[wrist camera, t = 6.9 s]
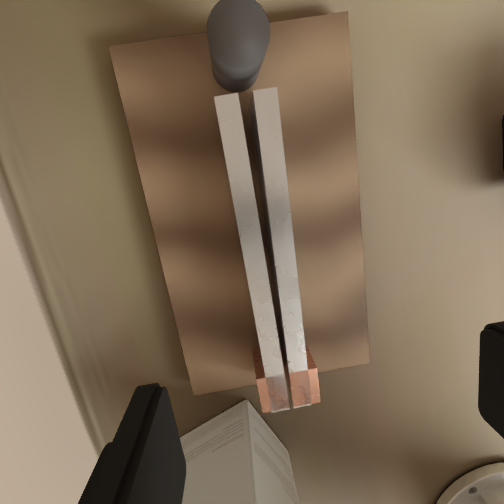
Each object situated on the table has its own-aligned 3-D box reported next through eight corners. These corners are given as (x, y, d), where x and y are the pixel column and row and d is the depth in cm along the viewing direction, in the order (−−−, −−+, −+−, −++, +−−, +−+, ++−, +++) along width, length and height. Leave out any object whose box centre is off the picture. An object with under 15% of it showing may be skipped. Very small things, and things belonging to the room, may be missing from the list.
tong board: (116, 54, 19) (64, 1, 13) (339, 22, 20) (391, -45, 14) (195, 383, 26) (185, 452, 20) (361, 352, 26) (404, 410, 20)
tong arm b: (206, 111, 19) (201, 98, 15) (235, 106, 19) (238, 92, 15) (257, 379, 24) (262, 414, 20) (281, 375, 24) (290, 409, 21)
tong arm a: (248, 104, 19) (252, 90, 15) (277, 100, 19) (289, 85, 16) (284, 374, 24) (293, 408, 21) (307, 370, 24) (320, 403, 21)
